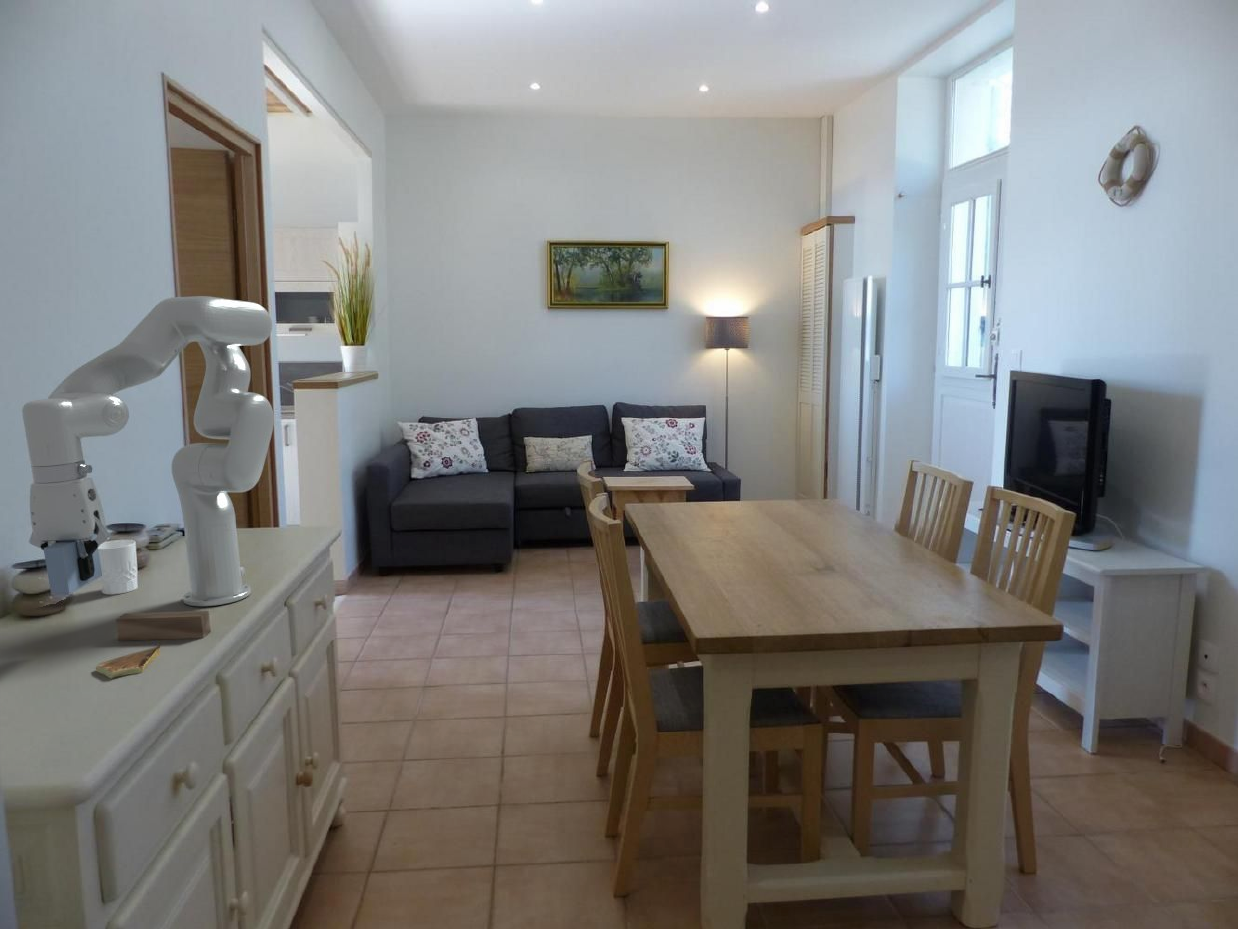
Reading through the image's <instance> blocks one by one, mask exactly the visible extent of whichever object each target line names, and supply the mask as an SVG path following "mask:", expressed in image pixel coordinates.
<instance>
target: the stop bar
mask: <svg viewBox="0 0 1238 929" xmlns="http://www.w3.org/2000/svg"><path fill="white" fill-rule="evenodd" d="M115 621H116V622H115V623H116V629H117V636H118V637H117V638H118V641H119V642H120V641H121V642H124V641H149V640H150V641H151V640H179V639H203V638H206V637H207V636H208V635H209V634H210V633H212V630H211V622H210V614H209V610H193V611H192V610H189V611H165V612H163V611H161V612H160V611H159V612H134V613H133V612H132V613H129V612H128V613H124V614H122V615H120V616H119V617H117V618H115Z"/></svg>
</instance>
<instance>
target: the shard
mask: <svg viewBox="0 0 1238 929" xmlns="http://www.w3.org/2000/svg"><path fill="white" fill-rule="evenodd" d="M161 648H162V645H161V644H160V645H158V646H155V647H151V648H148V649H147V648H146V649H145V650H142V651H138V652H137V651H136V652H132V653H130V654H129V653H128V654H126V655H121V656H120V657H116V658H113V659H110V660H107V661H103V662H100V663H98V664H97V665H96V666H95V667H94V668H95V670H96V672H97V673H100V674H102V675H104V676H106V677H107V678H109V679H114V678H118V677H123V676H128V675H134V674H140V673H143V672H144V670H145V668H146V667H147V666H148V665H149V664H150V663H152V662H153V660H154V659H156V658H157V657H158V655H159V654H160V649H161Z"/></svg>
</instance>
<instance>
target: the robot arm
mask: <svg viewBox="0 0 1238 929" xmlns="http://www.w3.org/2000/svg"><path fill="white" fill-rule="evenodd" d="M272 329H273V321H272V318H271V316H270V313H269V312H268V310H267V309H266V308H265V307H263V306H262V305H261V304H259V303H257V302H254V301H244V300H236V299H229V298H222V297H217V296H216V297H215V296H205V295H204V296H203V295H202V296H201V295H198V296H197V295H196V296H195V295H194V296H176V297H175V296H174V297H169V298H165V299H163V300H161V301H160V302H159V303H157V304H156V305H154V307H153V308H152V309H151V310H150V312H148V314H147V315H145V317H144V318H143V319H142V320H140V322H139V323H138V324H137V325H136V326H135V327H134V328H133V330H132V331H130V332H129V334H128V335H127V336H126V337H124V339H123V340H122V341H120V343H119V344H117V345H116V346H114V347H112V348H110V349H108V350H106V351H104V352H103V353H101V354H99V355H98V356H97V357H95V358H93V359H91V360H89V361H87V362H86V363H84V364H82V365H81V366H79V367H77V369H74V371H72V372H71V373H69V375H68V376H66V377H65V378H64V380H62V381H61V383H60V384H59V385H57V387H56V388H55V389H54V390H53V391H52V392H51V394H50V395H49V396H48V397H47V398H44V399H43V398H42V399H41V398H40V399H35V400H30V401H27V402H26V403H25V404H23V406H22V410H21V412H22V421H23V426H24V431H25V436H26V443H27V450H28V455H29V461H30V466H31V472H32V474H31V475H32V479H33V483H31V484H30V490H29V511H30V521H31V522H30V524H31V528H32V533H31V534H30V537H29V541H28V542H29V544H30V545H32V546H34V547H37V548H40V549H41V550H42V551H43V552H44V548H46V547H48V546H50V545H52V544H54V543H57V542H59V541H73V540H76V544H77V548H78V552H79V555H80V558H78V559H77V562H78V568H79V574H80V580H81V581H86V580H88V579H89V578H91V577H93V576H94V572H95V568H94V561H93V555H92V554H93V553H95V550H96V549H97V548H98V547H99V546H100V545H101V544H102V543H104V542H108V541H109V540H111V538H112V536H111V534H110V533H109V531H108V530H107V528H106V526H107V525H106V519H105V515H104V514H105V513H104V511H103V506H102V501H101V499H100V495H99V493H98V489H97V487H96V485H95V482H94V480H93V478H92V477H87V475H88V474H90V473H92V472H93V467H92V465H91V464H86V461H85V460H84V453H83V447H82V440H81V439H83V438H91V437H94V438H95V437H109V436H112V435H115V434H117V433H119V432H121V431H122V430H123V429H125V427H126V425H127V424H128V422H129V418H130V411H129V408H128V405H127V404H126V403H125V401H124V400H123V399H122V398H120V397H119V396H117V395H115V394H116V393H118V392H121V391H123V390H126V389H128V388H132V387H137V386H139V385H142V384H145V383H147V382H149V381H152V380H155V379H157V378H158V377H160V376H161V375H162V374H163V373H164V372H165V371H166V369H168V367H169V366H170V365H171V364H172V363H173V361H174V360H175V359H176V358H177V357H178V355H180V353H182V351H183V350H184V349H185V348H186V347H187V346H188V345H189V344H190V343H195V342H197V344H198V345H199V347H200V349H201V352H202V353H203V356H204V361H205V373H204V377H203V382H202V386H201V388H200V392H199V396H198V399H197V404H196V407H195V410H194V413H193V414H194V415H193V425H194V426H193V427H194V429H195V431H196V432H197V433H198V434H199V435H200V436H202V437H203V438H206V439H207V438H208V439H213V440H228V443H219V442H218V443H217V442H216V443H215V442H195V443H190V444H187V445H184V446H183V447H181V448H180V449H178V451H176V452H175V454H174V456H173V457H172V461H171V475H172V479H173V482H174V485H175V487H176V492H177V494H178V497H179V501H180V502H179V503H180V507H181V513H182V522H183V531H184V539H185V550H186V558H187V567H188V575H189V584H190V591H187V592H186V593H184V594H183V597H182V599H183V603H184V604H185V605H187V606H190V607H191V606H192V607H213V606H220V605H225V604H230V603H231V604H232V603H234V602H238V601H241V600H243V599H245V598H247V597H248V596H250V595H251V593H252V590H251V586H250V585H249V584H246V583H243V580H242V576H243V575H244V574H245V573H246V569H245V567H243V566H241V562H240V561H241V560H240V553H239V552H240V551H239V542H238V533H237V524H236V513H235V512H236V511H235V508H234V504H233V501H232V499H231V497H230V496H229V494H228V493H238V494H239V493H245V492H248V491H250V490H252V489H253V488H254V487H255V486H256V485H257V483H258V482H259V480H260V478H261V476H262V473H263V470H264V466H265V464H266V463H265V462H266V460H267V459H266V458H267V454H268V450H269V447H270V443H271V439H272V435H273V430H274V424H275V415H274V410H273V407H272V404H271V403H270V401H269V399H267V398H266V397H265V396H264V395H262V394H259V393H256V392H249V387H250V382H251V368H250V364H249V362H248V360H247V359H246V356H245V354H244V353H243V351H242V349H241V348H240V347H241V346H244V347H245V346H249V347H250V346H258V345H261V344H263V343H265V342H266V341H267V339H269V337H270V336H271V333H272ZM94 534H96V539H94V540H93V539H92V537H93V535H94Z"/></svg>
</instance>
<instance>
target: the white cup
mask: <svg viewBox="0 0 1238 929" xmlns="http://www.w3.org/2000/svg"><path fill="white" fill-rule="evenodd" d="M98 551H99V557H100V564H101V570H102V576H101V577H99V578H98V580H99V583H100V587H101V588H100V589H101V593H102V594H104V595H119V594H120V595H121V594H125V593H129V592H133V591H135V590H137V589H138V588H139V587H138V586H139V584H138V583H139V582H138V574H139V573H138V560H137V559H138V558H137V557H138V556H137V544H136V540H133V539H117V540H110V541H109V540H107V541H106V542H104V543H102V544H101V545H100V546H99V547H98Z"/></svg>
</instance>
